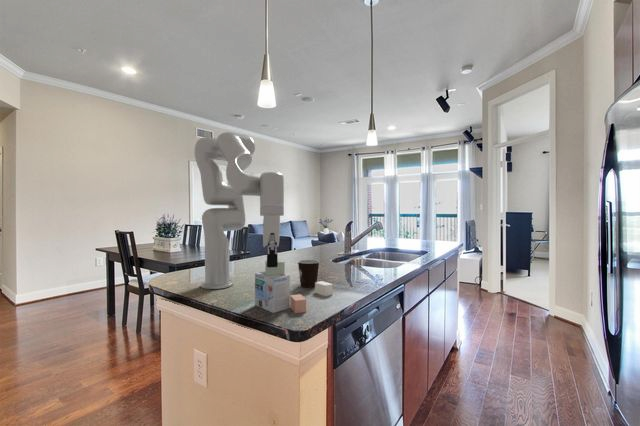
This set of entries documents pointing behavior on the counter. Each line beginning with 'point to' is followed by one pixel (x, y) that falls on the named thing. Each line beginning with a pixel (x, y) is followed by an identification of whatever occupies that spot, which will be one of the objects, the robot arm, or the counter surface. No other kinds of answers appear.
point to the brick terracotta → (298, 303)
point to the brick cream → (324, 288)
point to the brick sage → (275, 269)
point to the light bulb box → (272, 292)
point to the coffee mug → (308, 272)
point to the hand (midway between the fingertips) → (272, 264)
